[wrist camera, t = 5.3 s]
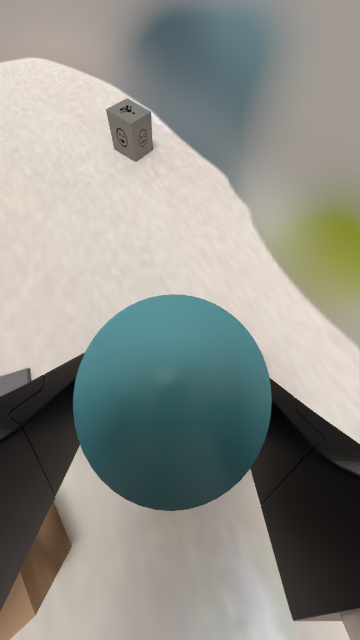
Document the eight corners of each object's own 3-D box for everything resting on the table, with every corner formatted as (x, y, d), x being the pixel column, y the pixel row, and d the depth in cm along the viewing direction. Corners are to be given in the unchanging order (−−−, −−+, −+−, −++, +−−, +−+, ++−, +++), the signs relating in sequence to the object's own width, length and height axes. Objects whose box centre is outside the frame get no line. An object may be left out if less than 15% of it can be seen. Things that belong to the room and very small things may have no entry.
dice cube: (132, 138, 33) (127, 98, 28) (152, 150, 32) (151, 111, 27) (114, 149, 31) (106, 109, 26) (135, 162, 31) (130, 123, 26)
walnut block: (71, 545, 15) (35, 615, 10) (17, 593, 14) (-49, 693, 9) (50, 494, 16) (9, 539, 11) (-2, 535, 14) (-70, 601, 10)
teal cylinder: (209, 398, 15) (308, 448, 5) (144, 425, 14) (96, 566, 4) (186, 336, 16) (225, 276, 6) (126, 356, 15) (57, 322, 5)
